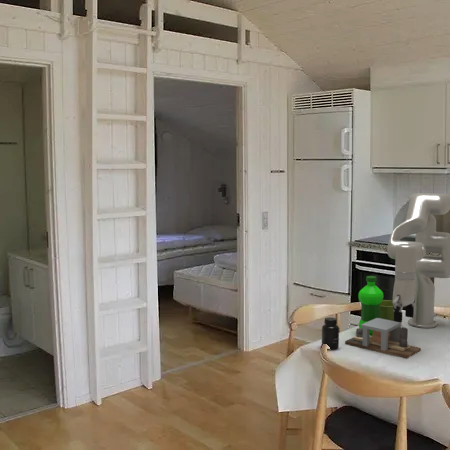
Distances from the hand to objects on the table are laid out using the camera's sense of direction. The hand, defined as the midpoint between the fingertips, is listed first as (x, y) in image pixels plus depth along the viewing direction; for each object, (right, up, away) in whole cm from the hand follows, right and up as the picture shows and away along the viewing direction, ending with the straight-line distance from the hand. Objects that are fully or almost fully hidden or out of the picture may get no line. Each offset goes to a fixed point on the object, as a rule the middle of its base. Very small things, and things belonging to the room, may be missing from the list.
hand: (403, 319), depth 232 cm
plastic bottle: (-7, -11, +26) cm, 29 cm away
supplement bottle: (-27, -13, +8) cm, 31 cm away
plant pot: (+3, -9, +35) cm, 36 cm away
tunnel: (-7, -11, +8) cm, 16 cm away
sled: (-7, -11, +8) cm, 15 cm away
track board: (-6, -13, +8) cm, 16 cm away
